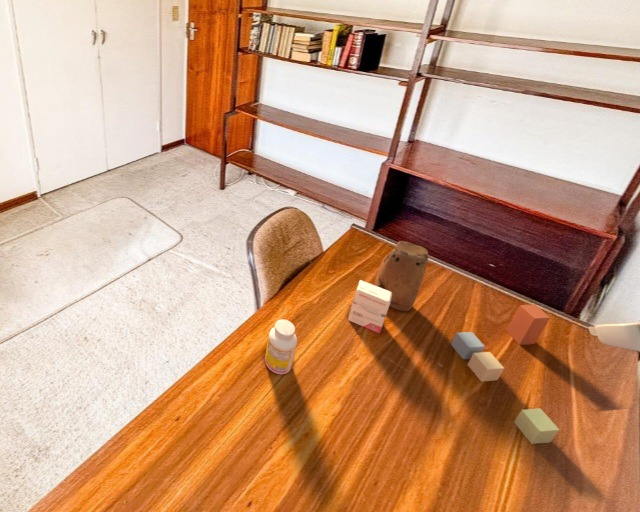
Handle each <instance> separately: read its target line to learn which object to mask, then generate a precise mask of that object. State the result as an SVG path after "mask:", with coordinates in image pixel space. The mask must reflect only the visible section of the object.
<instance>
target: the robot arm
mask: <svg viewBox="0 0 640 512" xmlns="http://www.w3.org/2000/svg"><path fill="white" fill-rule="evenodd" d="M588 331H589V333H590V335H591V336H594V337H597V338H598V341H599V342H600V343H601V344H603V345H605V346H608V347H614V348H618V349H624V350H629V351H635V352H640V320H638V321H637V322H626V323H625V322H624V323H622V322H621V323H601V324H596V325H594V326H588Z"/></svg>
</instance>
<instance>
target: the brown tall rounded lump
mask: <svg viewBox="0 0 640 512" xmlns="http://www.w3.org/2000/svg"><path fill="white" fill-rule="evenodd" d="M428 261H429V251H428V249H427V248H425V247H423V246H422V245H421V246H420V245H417V244H414V243H412V242H409V241H404V240H400V241H398V242H397V244H396V245H395V246H394V248H393V249H392V250H391V251H390V252H389V253H388V254H386V255H385V256H384V257H383V259H382V261H381V263H380V265H379V268H378V271H377V274H376V277H375V280H374V284H373V285H374V286H377V287H380V288H382V289H385V290H387V291H390V292H392V298H391V302H390V305H389V308H392V309H394V310H396V311H401V312H408V311H410V310H411V309H412V307H413V306H414V304H415V301H416V300H417V296H418V294H419V290H420V288H421V286H422V282H423V278H424V277H425V273H426V268H427V265H428Z"/></svg>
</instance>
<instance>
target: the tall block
mask: <svg viewBox="0 0 640 512" xmlns="http://www.w3.org/2000/svg"><path fill="white" fill-rule="evenodd" d="M550 320H551V317H550V316H549V315H548V314H547V313H546V312H544V311H543V309H541V308H540V307H539V306H538V305H537V304H521V305H519V306H518V308H517V310H516V312H515V313H514V316H513V317H512V319H511V321H510V323H509V324H508V327H507V329H506V330H505V332H506V333H507V334H508V335H509V336H510V337H511V338H512V339H513V340H514V341H515V342H516V343H517V344H518V345H519V346H525V345H527V346H528V345H535V344H536V342H537V341H538V340H539V337H540V336H541V334H542V333H543V331H544V329H545V327H546V326H547V324H548V322H549V321H550Z"/></svg>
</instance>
